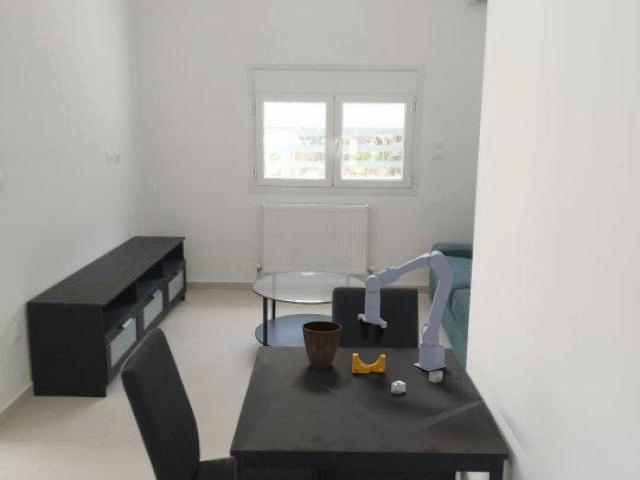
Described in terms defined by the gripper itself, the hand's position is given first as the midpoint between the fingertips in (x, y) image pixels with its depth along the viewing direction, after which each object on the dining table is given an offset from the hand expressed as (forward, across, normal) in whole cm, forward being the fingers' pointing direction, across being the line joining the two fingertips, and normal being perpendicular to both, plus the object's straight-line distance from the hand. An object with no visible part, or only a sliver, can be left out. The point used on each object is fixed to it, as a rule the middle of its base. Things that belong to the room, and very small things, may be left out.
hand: (371, 341), depth 228 cm
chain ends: (+9, +25, 0) cm, 27 cm away
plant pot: (+10, -9, -17) cm, 21 cm away
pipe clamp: (+10, +5, -6) cm, 12 cm away
